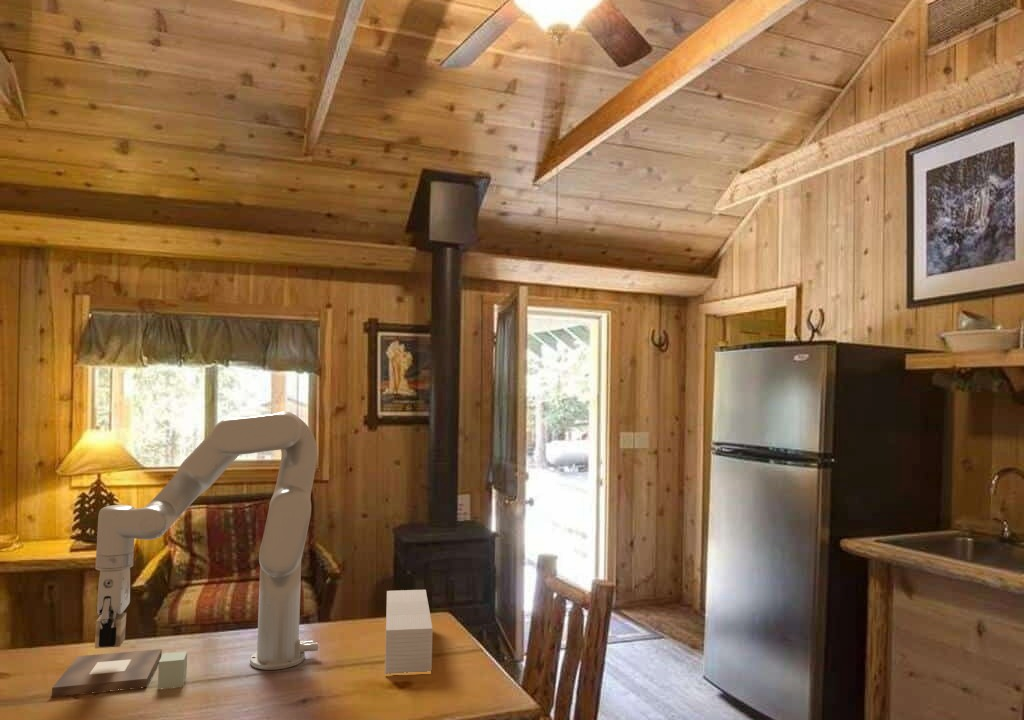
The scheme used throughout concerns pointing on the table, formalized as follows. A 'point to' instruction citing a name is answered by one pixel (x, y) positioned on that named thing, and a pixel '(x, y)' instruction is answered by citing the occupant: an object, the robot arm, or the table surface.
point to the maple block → (120, 630)
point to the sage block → (172, 670)
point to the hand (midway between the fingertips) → (110, 640)
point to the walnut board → (108, 672)
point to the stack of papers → (408, 632)
